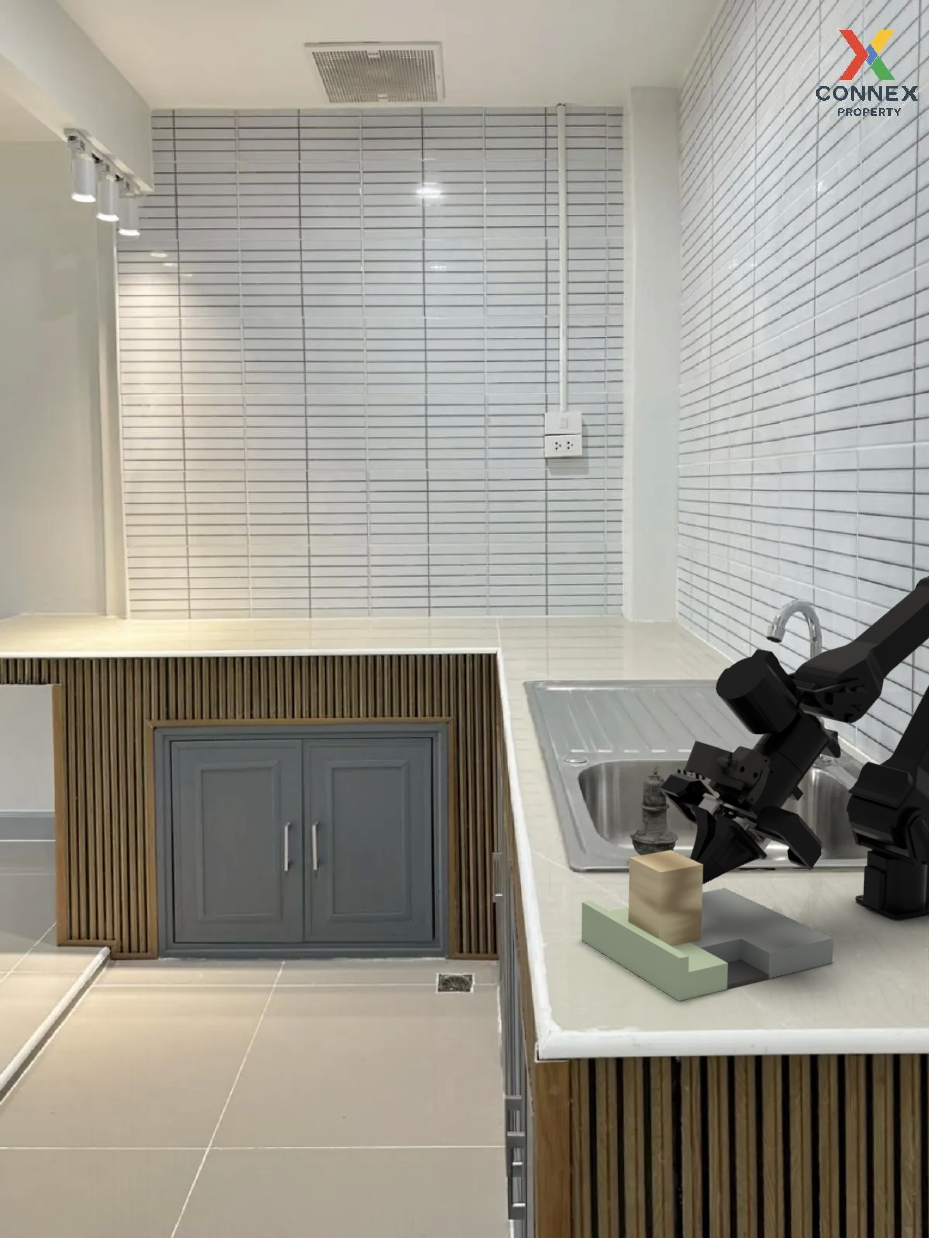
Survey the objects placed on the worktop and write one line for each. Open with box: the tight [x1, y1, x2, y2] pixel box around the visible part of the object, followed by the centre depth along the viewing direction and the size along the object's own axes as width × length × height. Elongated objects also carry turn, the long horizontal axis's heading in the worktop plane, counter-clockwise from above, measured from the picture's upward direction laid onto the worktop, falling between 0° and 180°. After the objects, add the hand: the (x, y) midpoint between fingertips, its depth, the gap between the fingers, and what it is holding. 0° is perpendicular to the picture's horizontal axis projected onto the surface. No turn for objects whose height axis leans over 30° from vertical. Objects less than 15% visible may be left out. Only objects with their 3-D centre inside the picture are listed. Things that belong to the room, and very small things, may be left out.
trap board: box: [581, 887, 834, 1002], centre depth 116 cm, size 18×16×4 cm
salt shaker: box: [629, 768, 679, 856], centre depth 142 cm, size 6×6×12 cm
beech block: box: [628, 850, 703, 946], centre depth 113 cm, size 5×5×8 cm
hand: (688, 885), depth 114 cm, fingers closed, pressing on beech block
